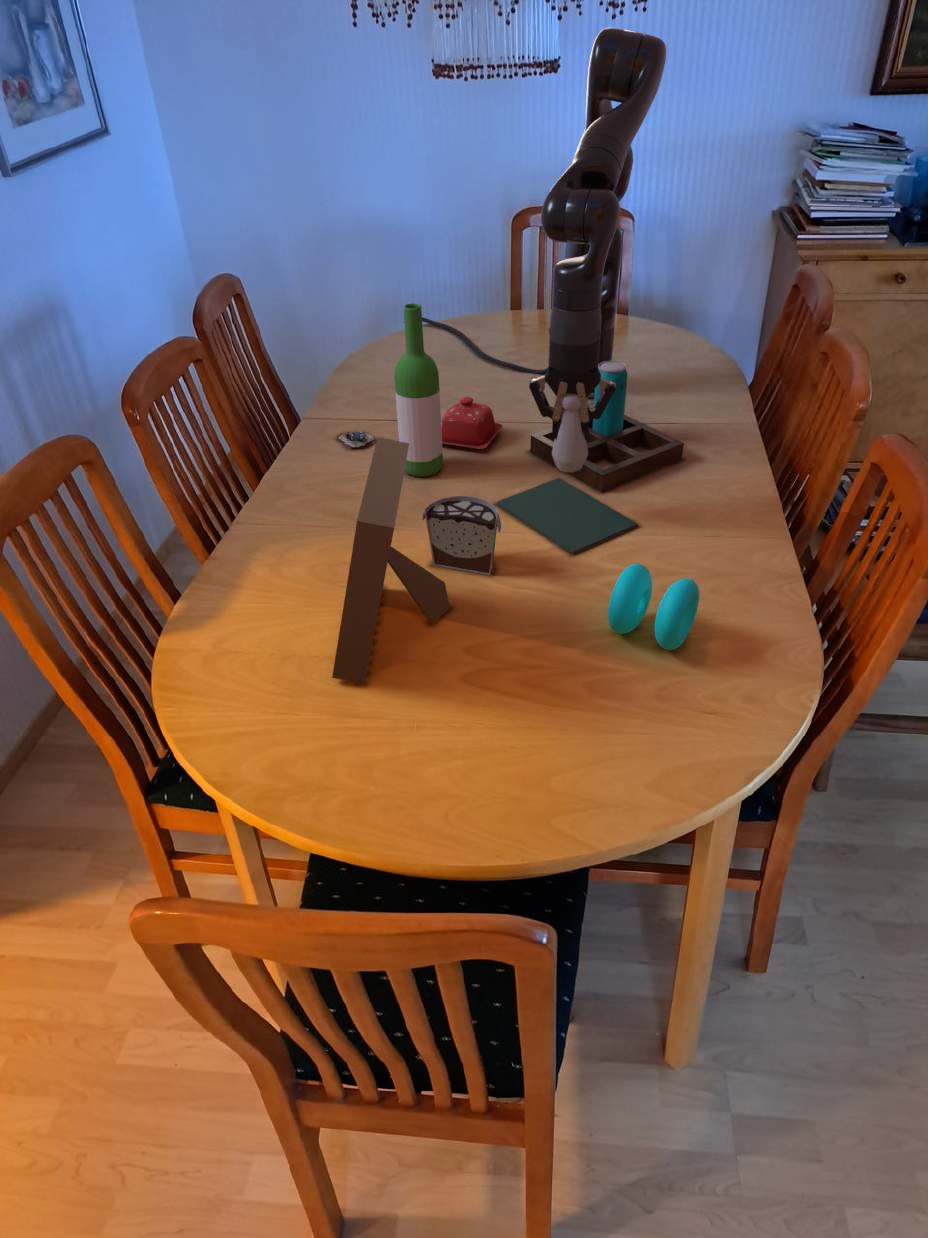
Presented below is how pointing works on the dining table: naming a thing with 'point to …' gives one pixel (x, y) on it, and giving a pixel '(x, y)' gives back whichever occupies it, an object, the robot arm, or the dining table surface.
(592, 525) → the placemat
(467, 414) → the butter dish
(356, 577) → the photo frame
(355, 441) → the blueberries
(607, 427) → the beverage can
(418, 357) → the wine bottle
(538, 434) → the stand
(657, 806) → the dining table surface
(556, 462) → the salt shaker
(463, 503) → the food container
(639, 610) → the donuts
